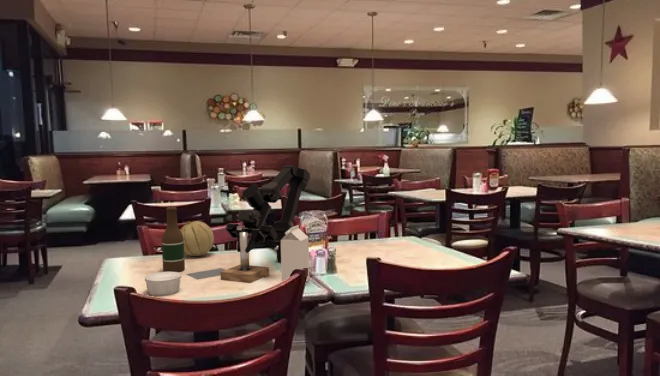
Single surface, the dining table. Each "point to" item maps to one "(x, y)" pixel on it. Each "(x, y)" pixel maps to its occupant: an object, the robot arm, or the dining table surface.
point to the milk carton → (294, 252)
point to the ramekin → (163, 283)
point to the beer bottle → (172, 244)
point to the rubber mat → (206, 273)
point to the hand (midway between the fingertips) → (242, 251)
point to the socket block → (245, 274)
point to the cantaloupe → (197, 238)
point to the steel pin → (244, 251)
